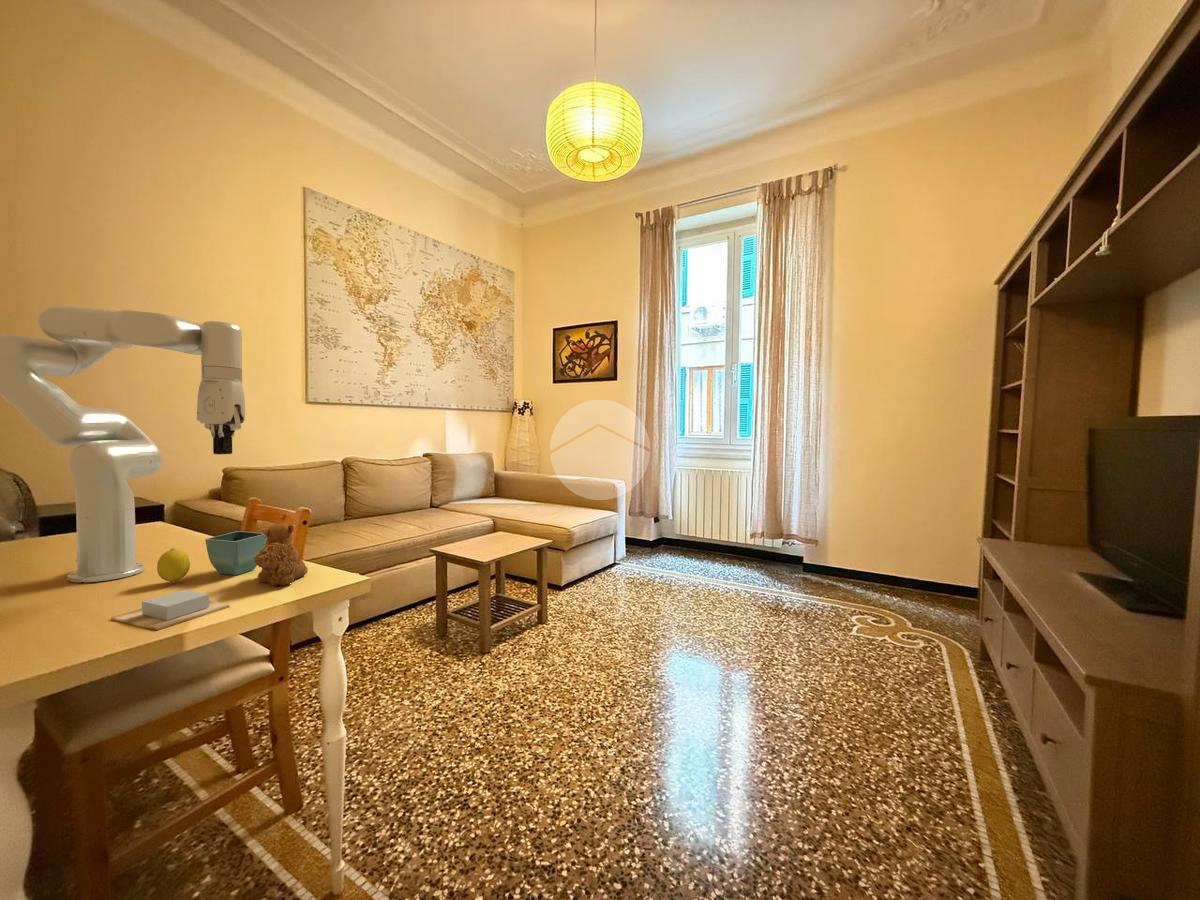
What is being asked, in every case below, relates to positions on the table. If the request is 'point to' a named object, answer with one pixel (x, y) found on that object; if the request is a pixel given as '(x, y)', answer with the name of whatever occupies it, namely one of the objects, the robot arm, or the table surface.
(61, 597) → the table surface
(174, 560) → the lemon
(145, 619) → the cork mat
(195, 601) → the tile
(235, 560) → the flower pot
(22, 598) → the table surface
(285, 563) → the brown fuzzy figure
